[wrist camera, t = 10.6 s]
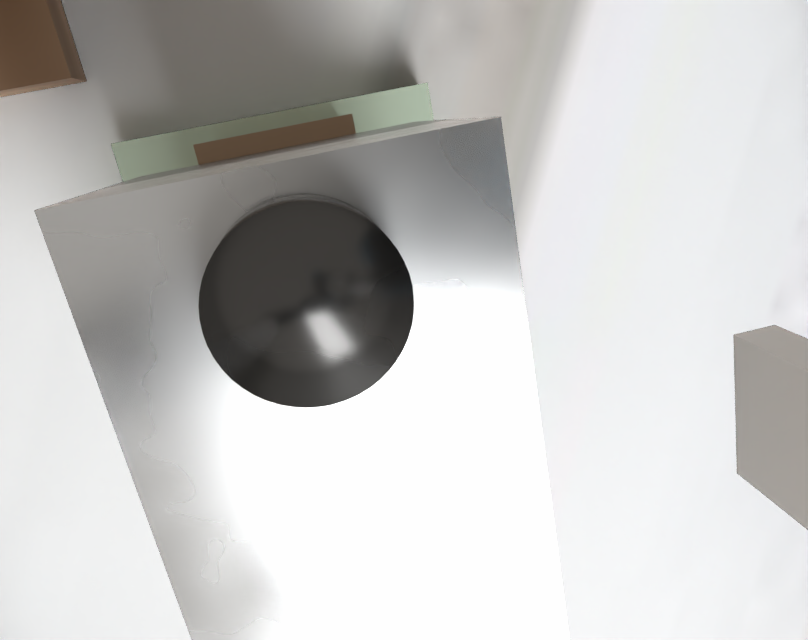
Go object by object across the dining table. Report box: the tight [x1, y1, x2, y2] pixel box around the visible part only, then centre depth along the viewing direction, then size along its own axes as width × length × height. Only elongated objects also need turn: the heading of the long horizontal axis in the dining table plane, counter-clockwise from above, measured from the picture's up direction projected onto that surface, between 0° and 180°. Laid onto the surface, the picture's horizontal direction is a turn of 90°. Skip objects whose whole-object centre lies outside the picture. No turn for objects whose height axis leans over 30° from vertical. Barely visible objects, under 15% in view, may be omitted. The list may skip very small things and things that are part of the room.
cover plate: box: [34, 117, 570, 640], centre depth 12 cm, size 11×7×5 cm, turn 11°
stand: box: [111, 83, 434, 182], centre depth 21 cm, size 10×13×6 cm
